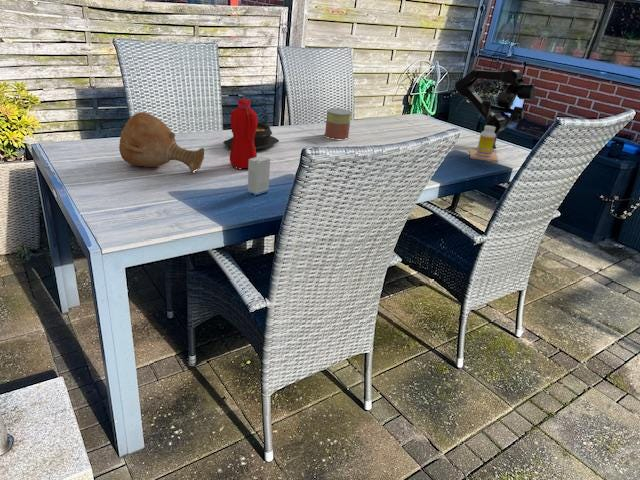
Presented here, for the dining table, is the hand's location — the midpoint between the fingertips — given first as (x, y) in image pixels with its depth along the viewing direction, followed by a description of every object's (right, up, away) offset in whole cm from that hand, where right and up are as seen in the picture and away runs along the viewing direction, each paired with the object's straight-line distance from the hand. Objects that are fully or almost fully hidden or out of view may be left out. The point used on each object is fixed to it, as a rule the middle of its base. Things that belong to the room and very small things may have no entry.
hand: (494, 124), depth 227 cm
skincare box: (-100, -37, -59) cm, 122 cm away
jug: (-137, -27, -46) cm, 147 cm away
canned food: (-72, -4, +9) cm, 72 cm away
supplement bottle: (-5, -13, +1) cm, 14 cm away
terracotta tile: (-5, -14, +2) cm, 15 cm away
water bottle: (-108, -25, -38) cm, 117 cm away
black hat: (-109, -12, -14) cm, 110 cm away
